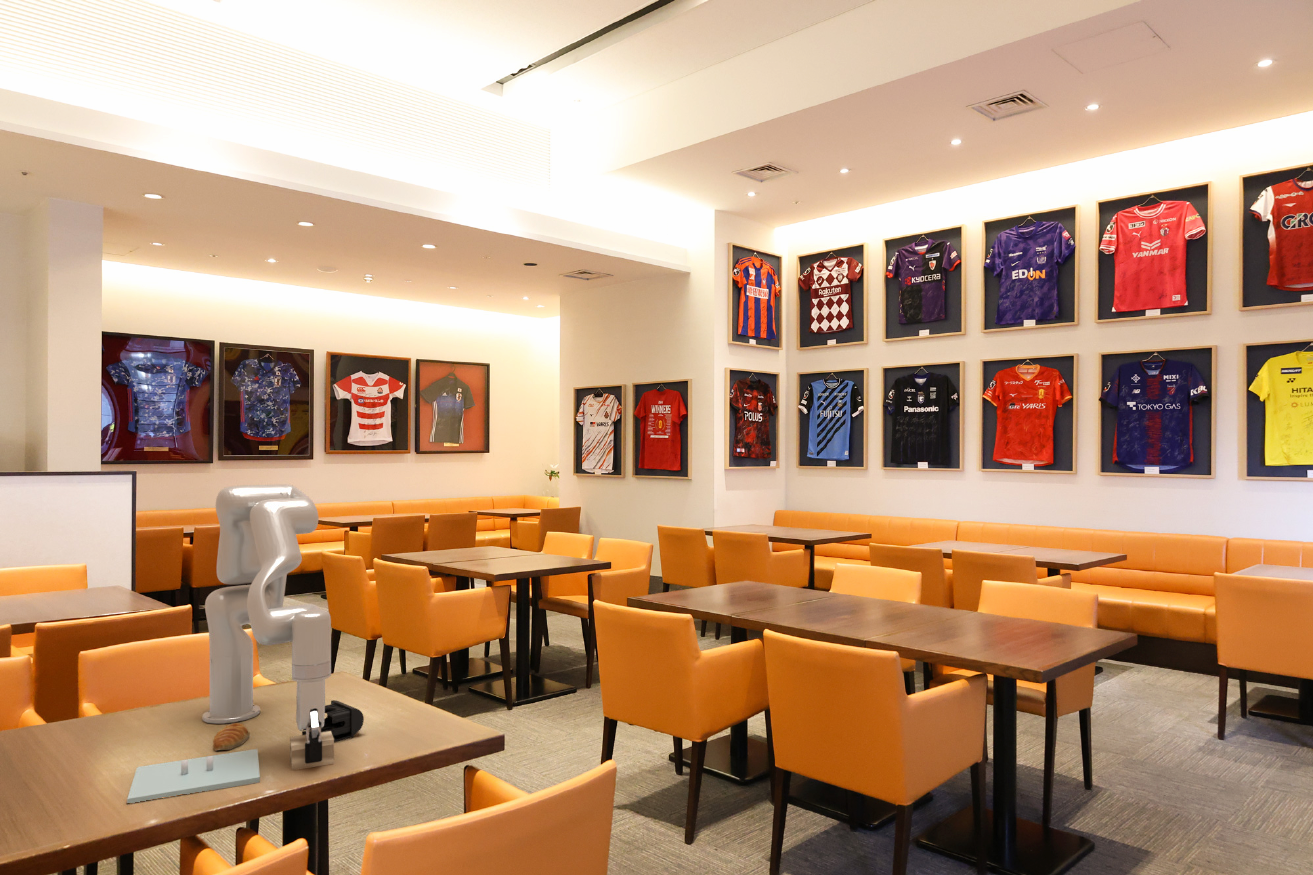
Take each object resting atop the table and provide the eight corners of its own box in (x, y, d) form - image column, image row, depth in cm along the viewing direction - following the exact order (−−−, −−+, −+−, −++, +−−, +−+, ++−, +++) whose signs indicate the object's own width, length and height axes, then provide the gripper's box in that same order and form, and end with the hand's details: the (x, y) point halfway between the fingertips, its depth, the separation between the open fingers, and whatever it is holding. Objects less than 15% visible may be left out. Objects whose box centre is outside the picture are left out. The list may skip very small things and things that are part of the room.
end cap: (364, 735, 192) (364, 705, 192) (334, 743, 187) (334, 712, 187) (343, 726, 199) (343, 697, 199) (314, 733, 194) (314, 704, 194)
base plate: (137, 771, 171) (137, 754, 171) (257, 753, 181) (257, 737, 181) (127, 804, 155) (127, 785, 155) (259, 782, 165) (259, 764, 165)
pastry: (238, 752, 182) (238, 734, 183) (204, 754, 181) (204, 736, 181) (251, 737, 192) (251, 720, 192) (219, 739, 191) (219, 722, 191)
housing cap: (290, 761, 176) (290, 736, 176) (331, 754, 180) (330, 730, 180) (291, 770, 171) (291, 745, 171) (334, 763, 174) (333, 739, 175)
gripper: (289, 663, 182) (289, 745, 181) (294, 682, 166) (295, 772, 166) (326, 659, 185) (327, 740, 185) (335, 677, 170) (335, 766, 169)
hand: (311, 755), depth 175 cm, fingers open, 7 cm apart
